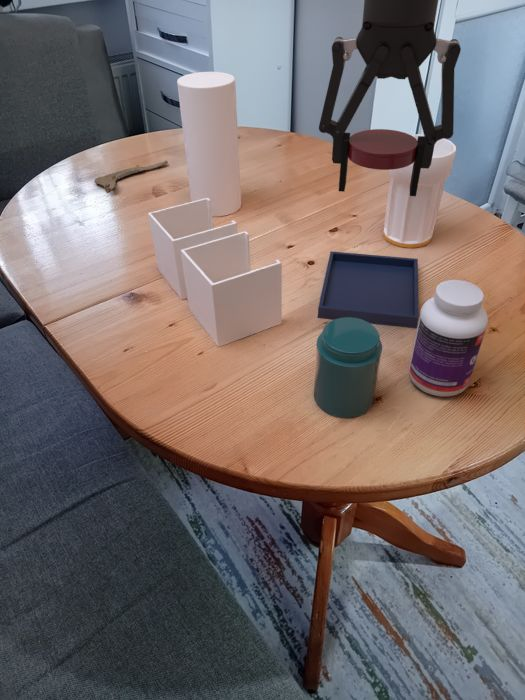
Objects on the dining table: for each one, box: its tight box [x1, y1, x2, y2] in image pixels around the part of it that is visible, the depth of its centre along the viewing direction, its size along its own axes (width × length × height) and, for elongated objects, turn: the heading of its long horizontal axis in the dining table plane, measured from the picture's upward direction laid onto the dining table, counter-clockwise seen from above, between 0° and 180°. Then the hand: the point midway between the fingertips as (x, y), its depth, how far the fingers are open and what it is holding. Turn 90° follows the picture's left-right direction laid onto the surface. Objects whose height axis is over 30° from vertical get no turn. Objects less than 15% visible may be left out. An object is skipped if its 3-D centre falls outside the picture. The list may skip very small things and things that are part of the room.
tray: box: [317, 251, 420, 329], centre depth 89 cm, size 17×15×2 cm
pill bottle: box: [408, 279, 489, 397], centre depth 69 cm, size 8×8×14 cm
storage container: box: [147, 198, 283, 348], centre depth 86 cm, size 25×11×11 cm, turn 29°
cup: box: [382, 133, 457, 249], centre depth 98 cm, size 11×11×17 cm
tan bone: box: [93, 160, 169, 193], centre depth 128 cm, size 9×20×2 cm, turn 149°
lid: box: [348, 128, 418, 171], centre depth 66 cm, size 8×8×2 cm
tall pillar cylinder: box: [176, 71, 242, 218], centre depth 107 cm, size 11×11×25 cm
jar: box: [313, 317, 383, 419], centre depth 68 cm, size 8×8×11 cm
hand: (377, 189), depth 69 cm, fingers closed on lid, 8 cm apart
